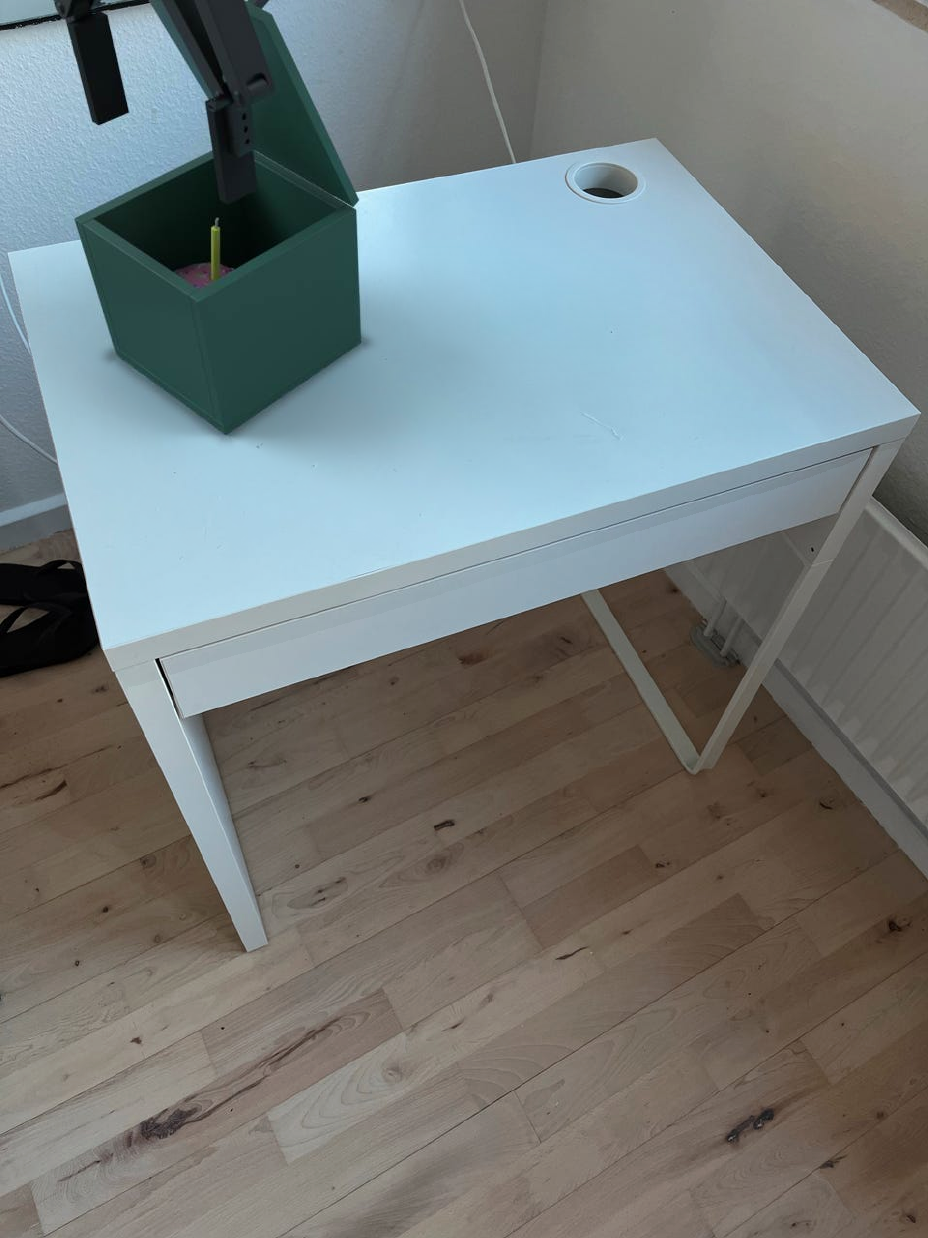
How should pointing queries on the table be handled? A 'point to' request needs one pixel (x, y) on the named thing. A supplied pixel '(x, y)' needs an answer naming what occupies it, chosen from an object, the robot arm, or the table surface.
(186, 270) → the cupcake
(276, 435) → the table surface
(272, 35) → the cool box lid
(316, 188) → the cool box
